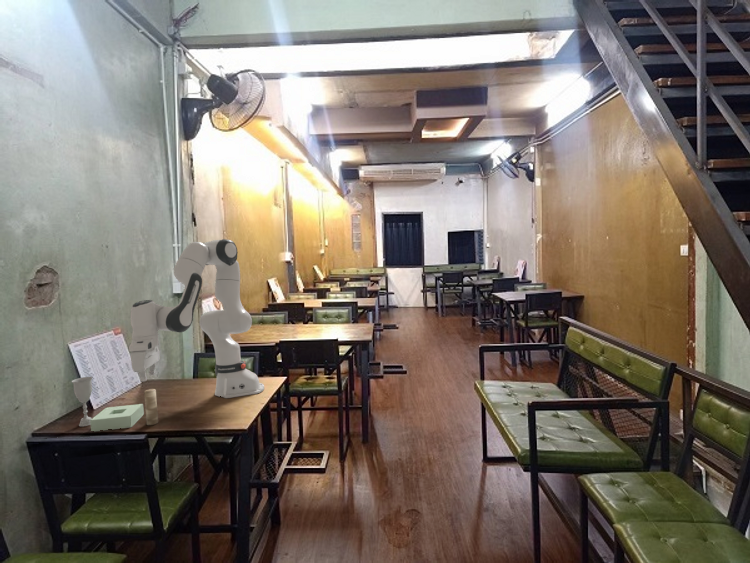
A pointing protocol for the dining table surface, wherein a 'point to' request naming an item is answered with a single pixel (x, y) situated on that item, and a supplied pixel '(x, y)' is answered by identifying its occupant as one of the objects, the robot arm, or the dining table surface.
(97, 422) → the socket block
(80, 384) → the chalice
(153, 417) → the peg
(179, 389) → the dining table surface
